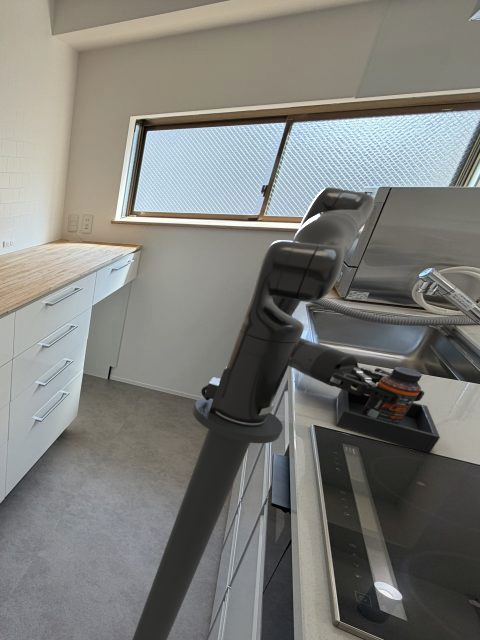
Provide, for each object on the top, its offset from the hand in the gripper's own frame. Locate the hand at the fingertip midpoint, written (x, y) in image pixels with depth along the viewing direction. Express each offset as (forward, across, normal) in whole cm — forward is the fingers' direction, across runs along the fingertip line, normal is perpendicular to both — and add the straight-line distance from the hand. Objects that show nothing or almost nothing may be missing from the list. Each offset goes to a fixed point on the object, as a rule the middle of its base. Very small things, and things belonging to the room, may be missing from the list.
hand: (409, 398), depth 80 cm
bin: (-2, 0, +7) cm, 7 cm away
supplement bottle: (-2, 0, +7) cm, 7 cm away
